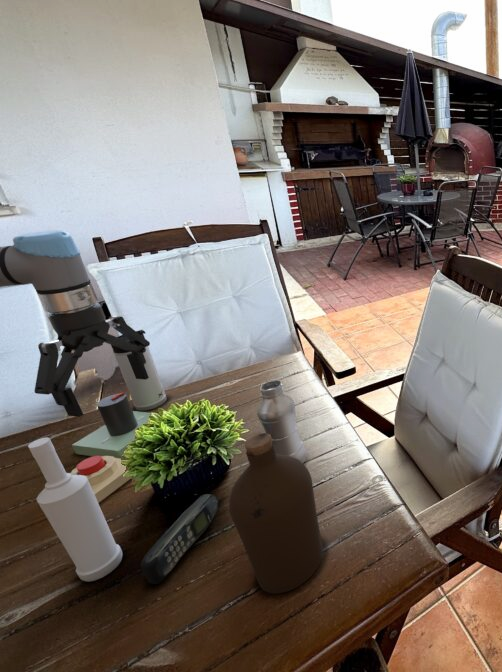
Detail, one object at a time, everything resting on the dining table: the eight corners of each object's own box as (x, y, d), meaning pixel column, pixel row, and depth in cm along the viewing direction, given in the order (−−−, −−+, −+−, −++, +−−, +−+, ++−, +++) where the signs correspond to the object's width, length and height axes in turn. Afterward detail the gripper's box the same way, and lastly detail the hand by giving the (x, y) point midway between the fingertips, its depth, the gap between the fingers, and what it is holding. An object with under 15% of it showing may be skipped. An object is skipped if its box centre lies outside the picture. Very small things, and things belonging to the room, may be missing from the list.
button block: (51, 499, 76) (42, 483, 75) (102, 463, 85) (96, 448, 83) (95, 505, 75) (87, 489, 74) (143, 469, 83) (137, 454, 82)
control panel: (75, 454, 87) (71, 444, 86) (132, 418, 98) (128, 409, 98) (122, 460, 86) (118, 450, 85) (174, 423, 97) (171, 414, 96)
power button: (74, 475, 77) (70, 468, 77) (95, 461, 81) (92, 454, 80) (90, 477, 77) (86, 470, 76) (110, 463, 80) (107, 456, 79)
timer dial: (121, 437, 89) (108, 406, 86) (103, 435, 89) (89, 404, 86) (143, 423, 93) (131, 393, 90) (125, 421, 94) (113, 391, 91)
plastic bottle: (313, 464, 85) (295, 384, 78) (279, 483, 80) (257, 399, 73) (301, 449, 89) (283, 372, 82) (268, 466, 84) (246, 385, 77)
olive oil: (337, 565, 64) (310, 441, 56) (263, 615, 58) (219, 483, 49) (314, 522, 72) (287, 406, 63) (246, 562, 65) (206, 438, 56)
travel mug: (172, 400, 105) (148, 333, 98) (140, 414, 100) (113, 343, 93) (163, 393, 108) (139, 327, 101) (131, 406, 103) (104, 337, 96)
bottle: (72, 588, 61) (-1, 460, 52) (89, 558, 66) (25, 435, 57) (115, 575, 63) (53, 449, 54) (129, 546, 67) (73, 426, 59)
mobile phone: (152, 565, 60) (221, 483, 74) (132, 565, 60) (205, 482, 74) (163, 587, 62) (228, 502, 75) (143, 586, 62) (212, 502, 75)
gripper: (7, 337, 69) (57, 436, 76) (150, 287, 92) (178, 366, 99) (-28, 334, 70) (25, 432, 77) (122, 285, 93) (152, 364, 100)
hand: (111, 395), depth 88 cm, fingers open, 13 cm apart
